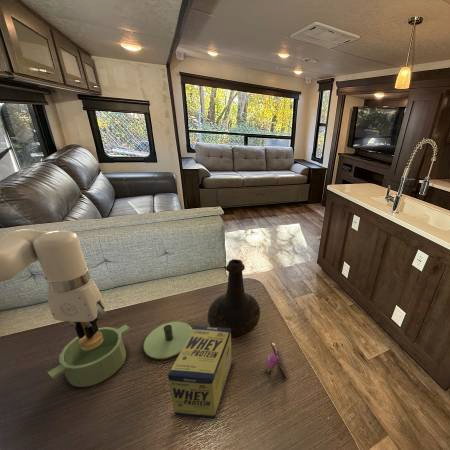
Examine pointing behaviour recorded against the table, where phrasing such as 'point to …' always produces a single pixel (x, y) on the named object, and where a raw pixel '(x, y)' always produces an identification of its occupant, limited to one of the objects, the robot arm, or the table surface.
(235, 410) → the table surface
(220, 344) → the protein box
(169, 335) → the pot lid
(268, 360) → the purple flower twig
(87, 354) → the pot
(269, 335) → the table surface
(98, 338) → the disc with rod handle
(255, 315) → the glass bottle
